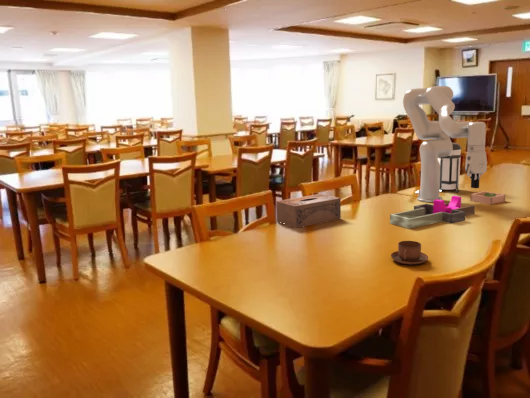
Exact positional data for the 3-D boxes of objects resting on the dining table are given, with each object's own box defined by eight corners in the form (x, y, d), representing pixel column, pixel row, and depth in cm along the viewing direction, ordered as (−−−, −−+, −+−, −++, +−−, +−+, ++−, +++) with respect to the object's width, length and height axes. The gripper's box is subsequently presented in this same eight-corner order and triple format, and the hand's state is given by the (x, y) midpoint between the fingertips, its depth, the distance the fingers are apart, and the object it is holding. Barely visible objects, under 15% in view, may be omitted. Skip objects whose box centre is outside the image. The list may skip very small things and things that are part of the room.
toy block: (444, 218, 214) (445, 202, 213) (432, 216, 220) (433, 200, 218) (465, 213, 222) (466, 197, 221) (453, 211, 227) (454, 195, 226)
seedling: (488, 211, 242) (486, 203, 246) (500, 204, 237) (498, 196, 241) (480, 204, 240) (478, 197, 244) (492, 197, 236) (490, 190, 240)
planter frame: (470, 200, 247) (470, 194, 246) (484, 197, 252) (485, 191, 252) (490, 204, 237) (490, 197, 236) (505, 201, 243) (505, 194, 242)
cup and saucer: (430, 268, 154) (430, 249, 153) (391, 266, 156) (392, 248, 155) (425, 256, 165) (426, 239, 164) (389, 255, 168) (390, 238, 167)
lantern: (426, 190, 278) (428, 138, 272) (447, 187, 285) (449, 136, 279) (449, 194, 263) (452, 140, 257) (470, 191, 269) (473, 138, 263)
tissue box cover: (295, 228, 207) (294, 206, 205) (276, 222, 219) (276, 201, 217) (340, 219, 220) (340, 198, 218) (320, 213, 232) (320, 193, 230)
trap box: (381, 221, 213) (381, 212, 212) (445, 207, 233) (445, 199, 232) (418, 231, 195) (419, 221, 194) (484, 216, 215) (484, 207, 214)
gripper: (472, 150, 214) (471, 190, 217) (493, 147, 221) (492, 186, 225) (458, 149, 221) (457, 188, 224) (479, 147, 228) (478, 185, 231)
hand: (474, 187), depth 224 cm, fingers closed
